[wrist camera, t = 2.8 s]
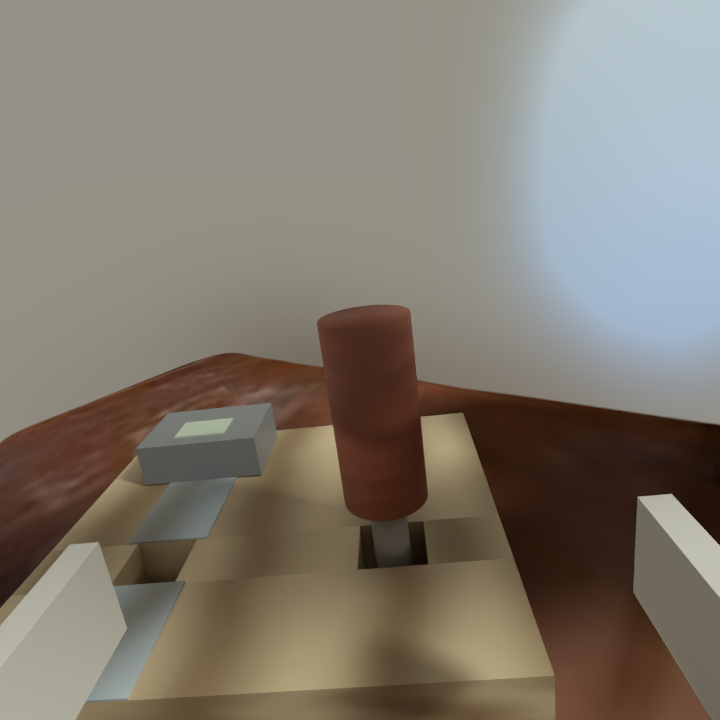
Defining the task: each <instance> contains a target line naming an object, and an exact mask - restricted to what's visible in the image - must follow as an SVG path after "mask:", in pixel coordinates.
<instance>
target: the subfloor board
mask: <svg viewBox="0 0 720 720" xmlns="http://www.w3.org/2000/svg"><path fill="white" fill-rule="evenodd" d="M421 427H422V437H423V447H424V458H425V468H426V478H427V488H428V498H427V500H426V502H425V504H424V505H423V506H422V507H421V508H420V509H419V510H418V511H416V512H415V513H413V514H411V515H409V516H407V520H408V529H409V537H410V546H411V555H412V564H413V566H401V567H387V568H377V561H376V554H375V547H374V540H373V533H372V526H371V521H370V520H365V519H362V518H359V517H357V516H355V515H353V514H352V513H351V512H350V511H349V510H348V509H347V507H346V505H345V500H344V494H343V488H342V481H341V475H340V468H339V462H338V455H337V449H336V442H335V436H334V430H333V425H331V426H320V427H310V428H300V429H289V430H279V431H277V438H276V440H275V443H274V445H273V448H272V450H271V453H270V455H269V457H268V460H267V462H266V465H265V467H264V470H263V472H262V474H261V475H252V476H241V477H230V478H219V479H208V480H197V481H186V482H175V483H164V484H153V485H146V484H145V481H144V477H143V474H142V470H141V467H140V464H139V460H138V457H137V456H136V457H135V458H134V459H133V460H132V462H131V463H130V464H129V465H128V466H127V467H126V468H125V469H124V471H123V472H122V473H121V474H120V475H119V476H118V477H117V478H116V479H115V481H114V482H113V483H112V484H111V485H110V486H109V487H108V488H107V490H106V491H105V492H104V493H103V494H102V495H101V496H100V497H99V498H98V500H97V501H96V502H95V503H94V504H93V505H92V506H91V507H90V509H89V510H88V511H87V512H86V513H85V514H84V515H83V516H82V517H81V519H80V520H79V521H78V522H77V523H76V524H75V525H74V526H73V527H72V529H71V530H70V531H69V532H68V533H67V534H66V535H65V536H64V538H63V539H62V540H61V541H60V542H59V543H58V544H57V545H56V546H55V548H54V549H53V550H52V551H51V552H50V553H49V554H48V555H47V557H46V558H45V559H44V560H43V561H42V562H41V563H40V564H39V565H38V567H37V568H36V569H35V570H34V571H33V572H32V573H31V574H30V576H29V577H28V578H27V579H26V580H25V581H24V582H23V583H22V584H21V586H20V587H19V588H18V589H17V590H16V591H15V592H14V593H13V595H12V596H11V597H10V598H9V599H8V600H7V601H6V602H5V603H4V605H3V606H2V607H1V608H0V625H1V624H2V623H3V622H4V621H5V619H6V618H7V617H8V616H9V615H10V614H11V612H12V611H13V610H14V609H15V608H16V607H17V605H18V604H19V603H20V602H21V601H22V600H23V598H24V597H25V596H26V595H27V594H28V593H29V591H30V590H31V589H32V588H33V587H34V586H35V584H36V583H37V582H38V581H39V580H40V579H41V577H42V576H43V575H44V574H45V573H46V572H47V570H48V569H49V568H50V567H51V566H52V565H53V563H54V562H55V561H56V560H57V559H58V558H59V556H60V555H61V554H62V553H63V552H64V551H65V549H66V548H67V547H68V546H69V545H71V544H83V543H95V542H99V545H100V548H101V551H102V554H103V557H104V560H105V563H106V566H107V569H108V572H109V575H110V578H111V581H112V584H113V587H114V590H115V593H116V596H117V599H118V602H119V605H120V608H121V611H122V614H123V617H124V620H125V623H126V626H127V630H126V632H125V633H124V635H123V637H122V639H121V640H120V642H119V644H118V646H117V647H116V649H115V651H114V653H113V654H112V656H111V658H110V660H109V661H108V663H107V665H106V667H105V669H104V670H103V672H102V674H101V676H100V677H99V679H98V681H97V683H96V684H95V686H94V688H93V690H92V691H91V693H90V695H89V697H88V698H87V700H86V702H85V704H84V706H83V707H82V709H81V711H80V713H79V714H78V716H77V718H76V720H555V675H554V672H553V669H552V667H551V664H550V661H549V658H548V655H547V652H546V649H545V646H544V644H543V641H542V638H541V635H540V632H539V629H538V626H537V623H536V621H535V618H534V615H533V612H532V609H531V606H530V603H529V600H528V598H527V595H526V592H525V589H524V586H523V583H522V580H521V578H520V575H519V572H518V569H517V566H516V563H515V560H514V557H513V555H512V552H511V549H510V546H509V543H508V540H507V537H506V534H505V532H504V529H503V526H502V523H501V520H500V517H499V514H498V511H497V509H496V506H495V503H494V500H493V497H492V494H491V491H490V488H489V486H488V483H487V480H486V477H485V474H484V471H483V468H482V466H481V463H480V460H479V457H478V454H477V451H476V448H475V445H474V443H473V440H472V437H471V434H470V431H469V428H468V425H467V422H466V420H465V417H464V414H463V413H455V414H444V415H434V416H424V417H421Z"/></svg>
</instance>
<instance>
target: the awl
mask: <svg viewBox="0 0 720 720" xmlns="http://www.w3.org/2000/svg"><path fill="white" fill-rule="evenodd" d="M317 326H318V333H319V339H320V345H321V352H322V359H323V365H324V371H325V378H326V384H327V391H328V397H329V404H330V410H331V417H332V423H333V430H334V436H335V442H336V449H337V455H338V462H339V468H340V475H341V481H342V488H343V494H344V500H345V505H346V507H347V509H348V510H349V511H350V512H351V513H352V514H353V515H355V516H357V517H359V518H362V519H365V520H370V521H371V526H372V533H373V540H374V547H375V554H376V561H377V568H387V567H401V566H413V564H412V555H411V546H410V537H409V529H408V520H407V516H409V515H411V514H413V513H415V512H416V511H418V510H419V509H420V508H421V507H422V506H423V505H424V504H425V502H426V500H427V498H428V488H427V478H426V468H425V458H424V447H423V437H422V427H421V417H420V406H419V396H418V386H417V376H416V367H415V366H416V365H415V357H414V356H415V355H414V346H413V335H412V325H411V314H410V310H409V309H408V308H406V307H403V306H397V305H369V306H361V307H354V308H349V309H344V310H340V311H337V312H333V313H330V314H328V315H325V316H323V317H322V318H320V319H319V320H318V321H317Z"/></svg>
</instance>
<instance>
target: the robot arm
mask: <svg viewBox="0 0 720 720" xmlns="http://www.w3.org/2000/svg"><path fill="white" fill-rule="evenodd" d="M716 470H717V473H718V476H719V479H720V431H719V439H718V449H717V459H716ZM633 593H634V594H635V596H636V598H637V599H638V601H639V603H640V604H641V606H642V607H643V609H644V611H645V612H646V614H647V616H648V617H649V619H650V620H651V622H652V624H653V625H654V627H655V629H656V630H657V632H658V633H659V635H660V637H661V638H662V640H663V642H664V643H665V645H666V646H667V648H668V650H669V651H670V653H671V655H672V656H673V658H674V659H675V661H676V663H677V664H678V666H679V668H680V669H681V671H682V673H683V674H684V676H685V677H686V679H687V681H688V682H689V684H690V686H691V687H692V689H693V690H694V692H695V694H696V695H697V697H698V699H699V700H700V702H701V703H702V705H703V707H704V708H705V710H706V712H707V713H708V715H709V716H710V718H711V720H720V545H719V544H718V543H717V542H716V541H715V540H714V539H713V538H712V537H711V536H710V535H709V534H708V532H707V531H706V530H705V529H704V528H703V527H702V526H701V525H700V524H699V523H698V522H697V521H696V520H695V519H694V517H693V516H692V515H691V514H690V513H689V512H688V511H687V510H686V509H685V508H684V507H683V506H682V505H681V503H680V502H679V501H678V500H677V499H676V498H675V497H674V496H673V495H672V494H664V495H652V496H640V497H637V518H636V540H635V562H634V584H633ZM126 630H127V626H126V623H125V620H124V617H123V614H122V611H121V608H120V605H119V602H118V599H117V596H116V593H115V590H114V587H113V584H112V581H111V578H110V575H109V572H108V569H107V566H106V563H105V560H104V557H103V554H102V551H101V548H100V545H99V542H95V543H83V544H71V545H69V546H68V547H67V548H66V549H65V551H64V552H63V553H62V554H61V555H60V556H59V558H58V559H57V560H56V561H55V562H54V563H53V565H52V566H51V567H50V568H49V569H48V570H47V572H46V573H45V574H44V575H43V576H42V577H41V579H40V580H39V581H38V582H37V583H36V584H35V586H34V587H33V588H32V589H31V590H30V591H29V593H28V594H27V595H26V596H25V597H24V598H23V600H22V601H21V602H20V603H19V604H18V605H17V607H16V608H15V609H14V610H13V611H12V612H11V614H10V615H9V616H8V617H7V618H6V619H5V621H4V622H3V623H2V624H1V625H0V720H76V718H77V716H78V714H79V713H80V711H81V709H82V707H83V706H84V704H85V702H86V700H87V698H88V697H89V695H90V693H91V691H92V690H93V688H94V686H95V684H96V683H97V681H98V679H99V677H100V676H101V674H102V672H103V670H104V669H105V667H106V665H107V663H108V661H109V660H110V658H111V656H112V654H113V653H114V651H115V649H116V647H117V646H118V644H119V642H120V640H121V639H122V637H123V635H124V633H125V632H126Z"/></svg>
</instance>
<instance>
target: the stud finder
mask: <svg viewBox="0 0 720 720" xmlns="http://www.w3.org/2000/svg"><path fill="white" fill-rule="evenodd" d="M276 438H277V430H276V425H275V420H274V415H273V410H272V405H271V403H265V404H255V405H245V406H235V407H225V408H215V409H205V410H195V411H185V412H175V413H168V414H167V415H166V416H165V417H164V419H163V420H162V421H161V422H160V423H159V424H158V425H157V426H156V427H155V428H154V429H153V430H152V432H151V433H150V434H149V435H148V436H147V437H146V438H145V439H144V440H143V441H142V442H141V443H140V445H139V446H138V447H137V448H136V449H135V450H136V453H137V457H138V460H139V464H140V467H141V470H142V474H143V477H144V481H145V484H146V485H153V484H164V483H175V482H186V481H197V480H208V479H219V478H230V477H241V476H252V475H261V474H262V472H263V470H264V467H265V465H266V462H267V460H268V457H269V455H270V453H271V450H272V448H273V445H274V443H275V440H276Z"/></svg>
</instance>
